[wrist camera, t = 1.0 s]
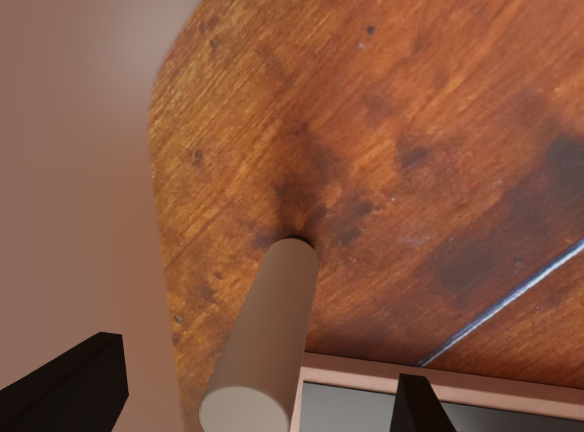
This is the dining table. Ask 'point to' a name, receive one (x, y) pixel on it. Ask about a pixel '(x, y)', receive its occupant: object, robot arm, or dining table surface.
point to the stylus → (265, 346)
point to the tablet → (447, 386)
